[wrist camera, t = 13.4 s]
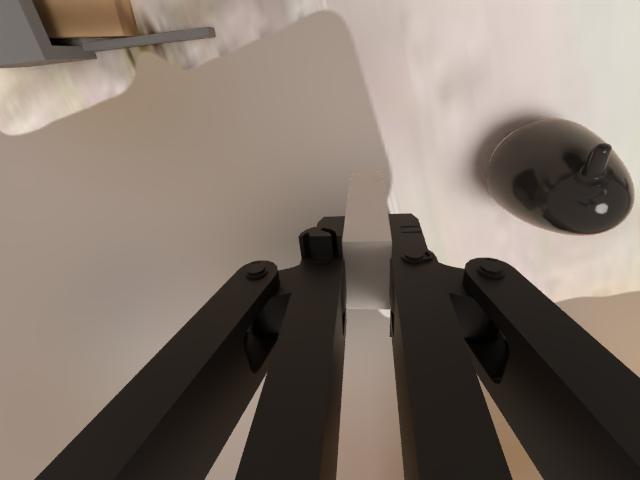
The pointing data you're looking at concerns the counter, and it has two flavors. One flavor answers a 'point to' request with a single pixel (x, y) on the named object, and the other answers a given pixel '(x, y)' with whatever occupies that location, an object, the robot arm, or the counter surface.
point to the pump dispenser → (560, 178)
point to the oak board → (86, 18)
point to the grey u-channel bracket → (35, 47)
